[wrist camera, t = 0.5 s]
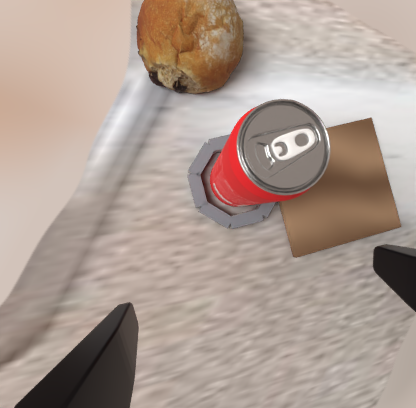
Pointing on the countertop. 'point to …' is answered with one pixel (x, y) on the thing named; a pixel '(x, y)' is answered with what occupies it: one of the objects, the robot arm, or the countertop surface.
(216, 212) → the ring
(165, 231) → the countertop surface
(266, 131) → the beverage can
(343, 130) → the coaster
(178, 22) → the bread roll
